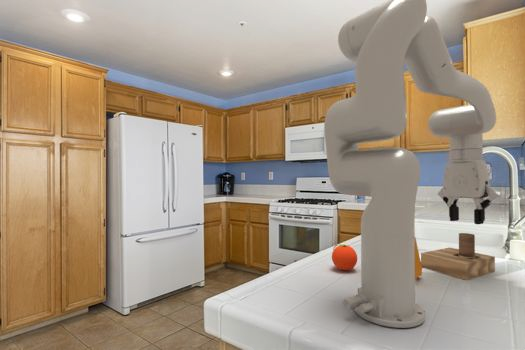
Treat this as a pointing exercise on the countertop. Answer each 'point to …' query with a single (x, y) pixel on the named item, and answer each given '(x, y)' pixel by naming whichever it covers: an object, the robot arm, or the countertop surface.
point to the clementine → (344, 257)
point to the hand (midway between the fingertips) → (466, 221)
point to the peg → (467, 245)
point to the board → (457, 263)
